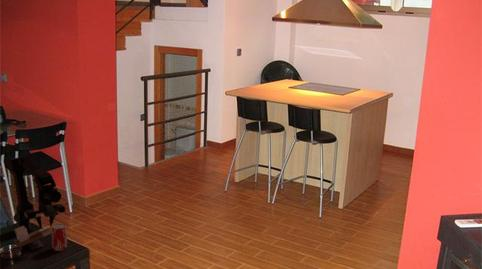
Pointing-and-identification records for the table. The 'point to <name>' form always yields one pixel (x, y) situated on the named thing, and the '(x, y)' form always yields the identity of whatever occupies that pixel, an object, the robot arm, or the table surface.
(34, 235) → the beam
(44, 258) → the table surface
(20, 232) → the rider
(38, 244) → the fulcrum
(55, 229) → the soda can
